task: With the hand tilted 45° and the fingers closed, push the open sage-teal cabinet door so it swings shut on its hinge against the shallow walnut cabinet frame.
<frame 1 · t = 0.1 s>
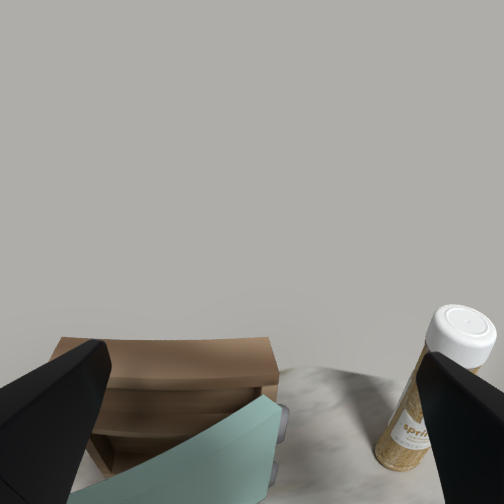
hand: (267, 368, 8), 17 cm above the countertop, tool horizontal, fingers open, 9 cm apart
cabinet: (182, 467, 19), on the countertop
sprinkles bottle: (398, 453, 20), on the countertop
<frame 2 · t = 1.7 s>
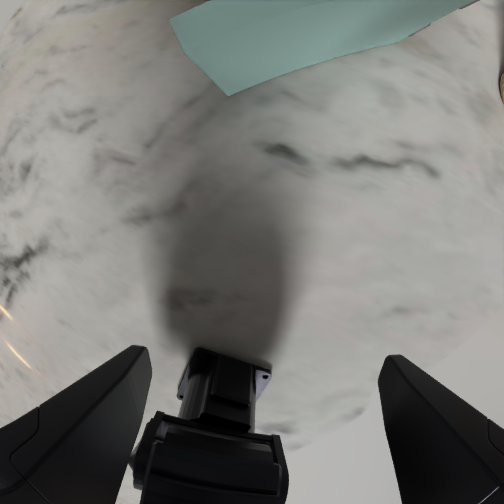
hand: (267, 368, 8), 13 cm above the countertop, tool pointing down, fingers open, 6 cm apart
door: (341, 25, 11), point 6 cm above the countertop, hinge at 35.0°
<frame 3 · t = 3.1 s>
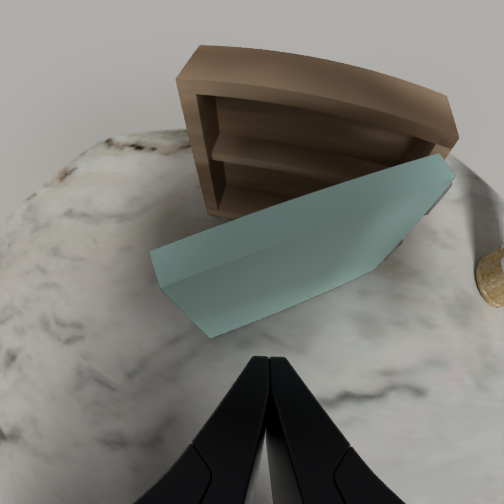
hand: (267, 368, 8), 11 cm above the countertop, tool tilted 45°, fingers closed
door: (316, 260, 15), point 6 cm above the countertop, hinge at 35.0°
cabinet: (296, 212, 22), on the countertop
sprinkles bottle: (492, 282, 20), on the countertop
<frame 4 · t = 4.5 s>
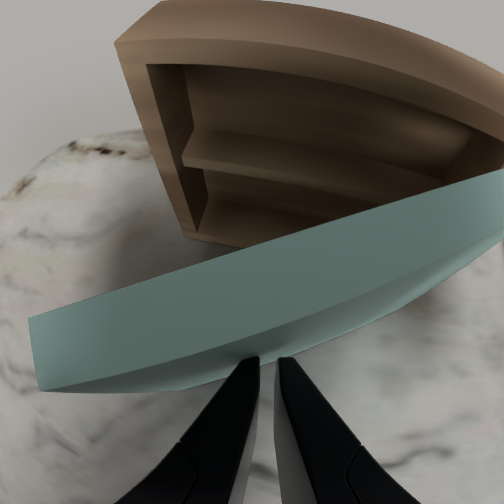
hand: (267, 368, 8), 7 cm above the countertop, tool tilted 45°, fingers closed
door: (331, 311, 10), point 6 cm above the countertop, hinge at 31.6°, touching gripper
cabinet: (300, 234, 17), on the countertop
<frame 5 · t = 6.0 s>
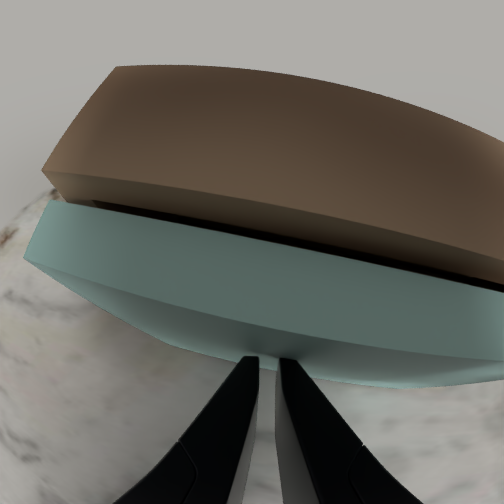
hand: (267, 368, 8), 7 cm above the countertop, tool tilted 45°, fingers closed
door: (326, 351, 9), point 6 cm above the countertop, hinge at -0.2°, touching gripper
cabinet: (304, 315, 15), on the countertop
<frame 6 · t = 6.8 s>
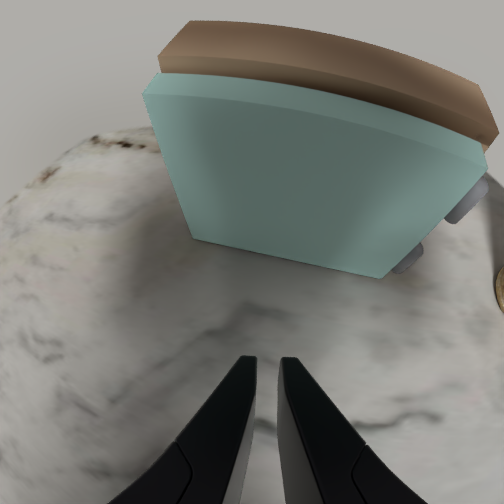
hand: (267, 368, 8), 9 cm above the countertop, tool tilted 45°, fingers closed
door: (315, 201, 13), point 6 cm above the countertop, hinge at -0.2°
cabinet: (301, 218, 19), on the countertop
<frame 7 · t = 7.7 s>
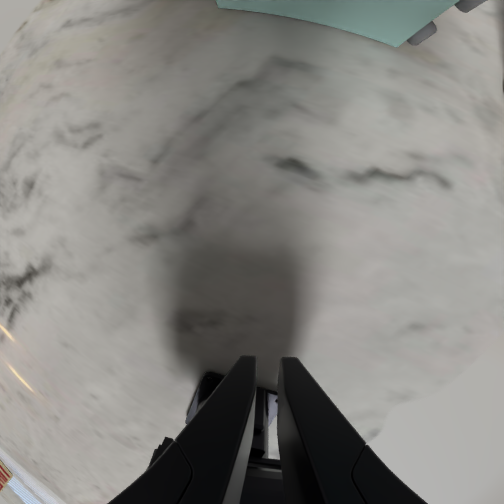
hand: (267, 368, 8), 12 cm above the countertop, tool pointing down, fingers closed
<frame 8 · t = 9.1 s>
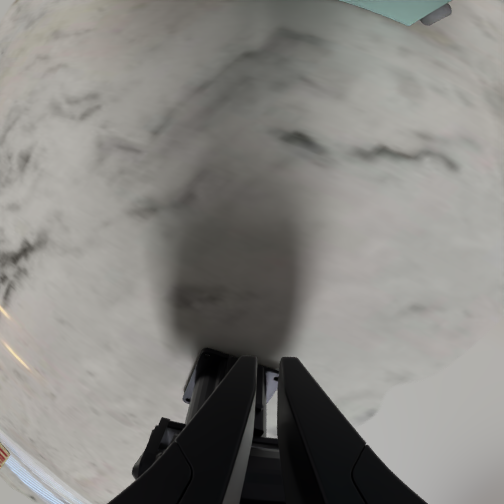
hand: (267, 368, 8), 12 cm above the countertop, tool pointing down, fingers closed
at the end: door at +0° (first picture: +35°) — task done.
